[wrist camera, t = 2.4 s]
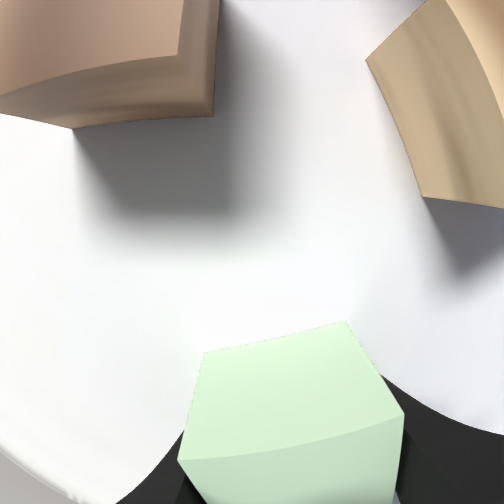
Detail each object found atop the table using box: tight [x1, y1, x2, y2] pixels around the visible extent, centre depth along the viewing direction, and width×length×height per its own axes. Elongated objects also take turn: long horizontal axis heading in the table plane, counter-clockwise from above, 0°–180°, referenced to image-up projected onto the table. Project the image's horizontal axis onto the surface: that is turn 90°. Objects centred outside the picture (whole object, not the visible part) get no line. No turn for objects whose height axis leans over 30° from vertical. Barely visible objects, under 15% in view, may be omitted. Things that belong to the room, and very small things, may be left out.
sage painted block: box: [177, 321, 404, 504], centre depth 8 cm, size 5×5×5 cm
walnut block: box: [0, 0, 220, 129], centre depth 6 cm, size 5×5×5 cm
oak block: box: [366, 0, 504, 209], centre depth 6 cm, size 5×5×5 cm
